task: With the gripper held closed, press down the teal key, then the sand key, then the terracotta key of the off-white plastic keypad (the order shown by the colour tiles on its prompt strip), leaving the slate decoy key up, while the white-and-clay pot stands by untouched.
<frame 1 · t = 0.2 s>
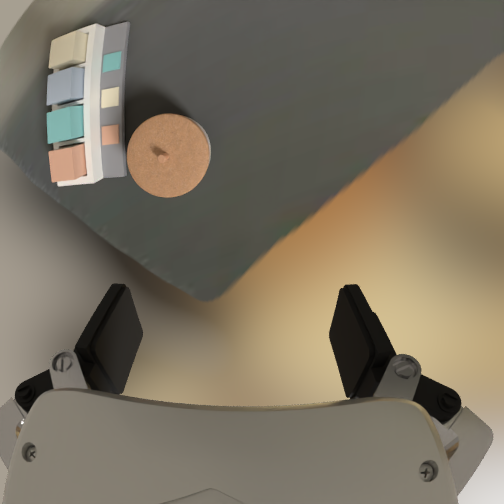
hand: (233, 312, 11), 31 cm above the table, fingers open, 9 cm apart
keypad: (83, 103, 32), on the table
lidded jar: (180, 147, 37), on the table
key A: (70, 161, 32), point 5 cm above the table, slide at 0.0 cm
key E: (70, 51, 23), point 5 cm above the table, slide at 0.0 cm
key T: (67, 123, 29), point 5 cm above the table, slide at 0.0 cm
key S: (68, 86, 26), point 5 cm above the table, slide at 0.0 cm
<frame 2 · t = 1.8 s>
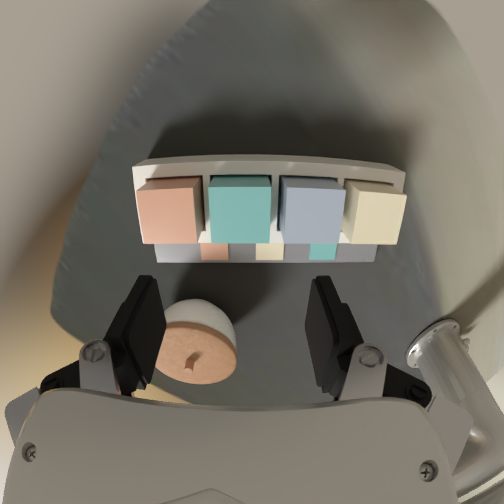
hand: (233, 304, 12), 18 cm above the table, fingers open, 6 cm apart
keypad: (270, 191, 28), on the table
lidded jar: (199, 315, 36), on the table
key A: (173, 207, 23), point 5 cm above the table, slide at 0.0 cm
key E: (368, 209, 24), point 5 cm above the table, slide at 0.0 cm
key T: (240, 205, 23), point 5 cm above the table, slide at 0.0 cm
key S: (308, 206, 24), point 5 cm above the table, slide at 0.0 cm
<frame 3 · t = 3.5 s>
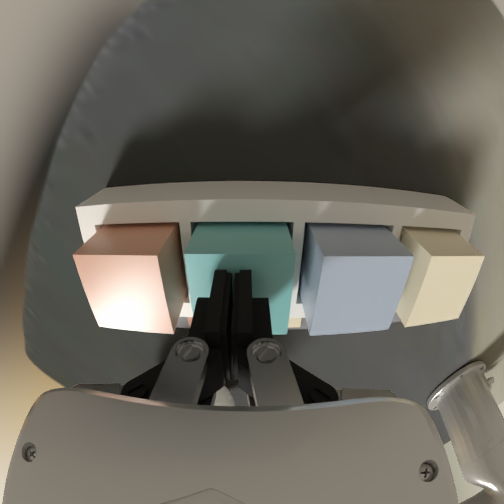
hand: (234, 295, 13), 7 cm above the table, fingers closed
keypad: (287, 236, 19), on the table
key A: (138, 270, 15), point 5 cm above the table, slide at 0.0 cm
key E: (428, 269, 15), point 5 cm above the table, slide at 0.0 cm
key T: (241, 270, 15), point 4 cm above the table, slide at 0.2 cm, touching gripper
key S: (348, 271, 15), point 5 cm above the table, slide at 0.0 cm
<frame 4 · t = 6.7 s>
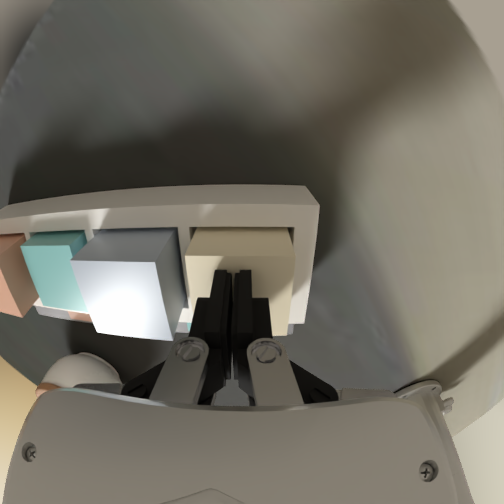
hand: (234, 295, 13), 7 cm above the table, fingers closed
keypad: (122, 241, 18), on the table
lidded jar: (97, 367, 27), on the table
key A: (11, 269, 14), point 5 cm above the table, slide at 0.0 cm
key E: (241, 272, 15), point 4 cm above the table, slide at 0.6 cm, touching gripper
key T: (71, 260, 16), point 3 cm above the table, slide at 1.6 cm
key S: (136, 276, 14), point 5 cm above the table, slide at 0.0 cm
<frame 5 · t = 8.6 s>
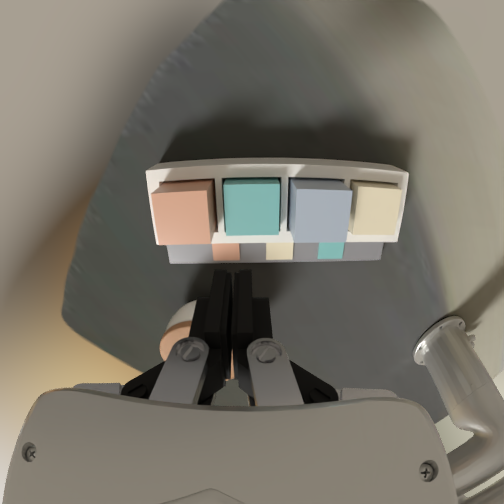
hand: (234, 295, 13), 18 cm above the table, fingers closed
keypad: (280, 193, 29), on the table
lidded jar: (210, 314, 37), on the table
key A: (187, 209, 25), point 5 cm above the table, slide at 0.0 cm
key E: (368, 203, 26), point 3 cm above the table, slide at 1.6 cm
key T: (251, 201, 26), point 3 cm above the table, slide at 1.6 cm
key S: (316, 207, 24), point 5 cm above the table, slide at 0.0 cm
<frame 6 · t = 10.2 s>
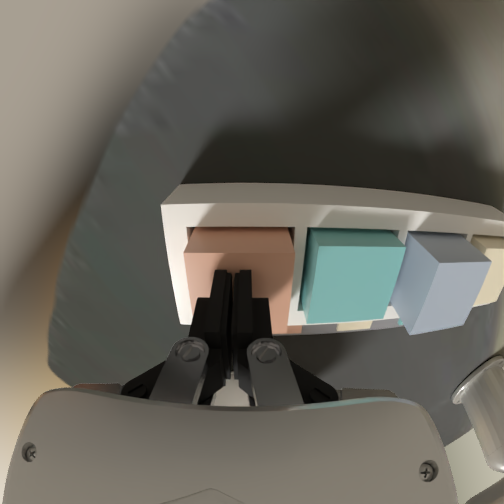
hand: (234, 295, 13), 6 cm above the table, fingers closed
keypad: (369, 241, 18), on the table
lidded jar: (245, 384, 26), on the table
key A: (241, 269, 15), point 4 cm above the table, slide at 1.0 cm, touching gripper
key E: (474, 260, 16), point 3 cm above the table, slide at 1.6 cm
key T: (343, 263, 15), point 3 cm above the table, slide at 1.6 cm
key S: (433, 275, 14), point 5 cm above the table, slide at 0.0 cm
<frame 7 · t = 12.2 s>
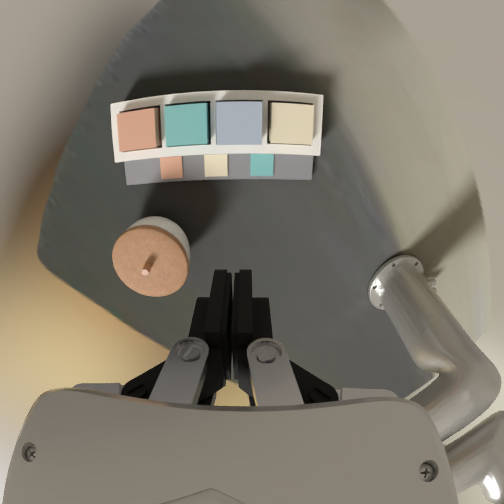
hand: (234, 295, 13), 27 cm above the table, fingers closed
keypad: (215, 121, 32), on the table
lidded jar: (162, 237, 40), on the table
key A: (142, 128, 29), point 3 cm above the table, slide at 1.6 cm
key E: (288, 122, 30), point 3 cm above the table, slide at 1.6 cm
key T: (189, 123, 29), point 3 cm above the table, slide at 1.6 cm
key S: (239, 122, 28), point 5 cm above the table, slide at 0.0 cm
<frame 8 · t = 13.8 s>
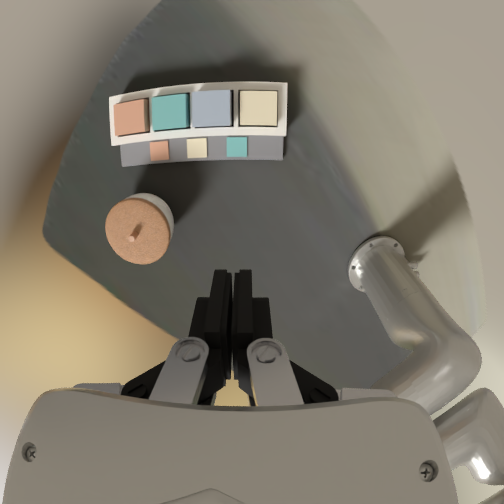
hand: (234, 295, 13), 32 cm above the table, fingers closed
keypad: (197, 110, 36), on the table
lidded jar: (151, 214, 44), on the table
key A: (135, 117, 33), point 3 cm above the table, slide at 1.6 cm
key E: (257, 108, 34), point 3 cm above the table, slide at 1.6 cm
key T: (173, 112, 34), point 3 cm above the table, slide at 1.6 cm
key S: (213, 108, 32), point 5 cm above the table, slide at 0.0 cm
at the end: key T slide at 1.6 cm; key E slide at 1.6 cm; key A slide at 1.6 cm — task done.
